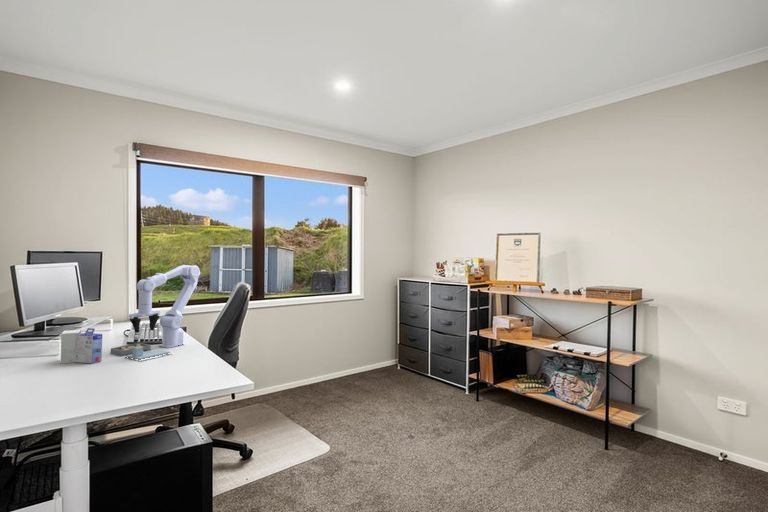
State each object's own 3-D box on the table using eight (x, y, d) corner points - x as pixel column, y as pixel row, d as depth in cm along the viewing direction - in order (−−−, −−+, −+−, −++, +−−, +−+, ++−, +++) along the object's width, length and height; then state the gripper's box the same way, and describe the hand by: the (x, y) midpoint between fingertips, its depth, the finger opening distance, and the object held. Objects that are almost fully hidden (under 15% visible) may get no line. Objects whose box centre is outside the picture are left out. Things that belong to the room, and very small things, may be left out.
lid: (156, 350, 201) (157, 341, 201) (169, 353, 197) (169, 343, 197) (126, 357, 188) (127, 346, 188) (139, 360, 184) (140, 349, 184)
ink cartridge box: (102, 360, 182) (103, 328, 182) (92, 363, 177) (92, 330, 177) (83, 359, 184) (84, 327, 183) (72, 362, 178) (73, 329, 178)
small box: (78, 362, 179) (79, 332, 179) (60, 363, 176) (60, 333, 176) (80, 357, 186) (81, 329, 186) (62, 359, 183) (63, 330, 182)
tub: (139, 347, 207) (139, 342, 207) (150, 350, 203) (150, 345, 203) (110, 353, 194) (110, 348, 194) (121, 356, 190) (122, 350, 190)
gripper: (154, 301, 208) (153, 328, 209) (125, 304, 195) (124, 332, 196) (162, 302, 205) (162, 329, 205) (134, 305, 192) (133, 334, 192)
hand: (144, 331), depth 200 cm, fingers open, 7 cm apart
